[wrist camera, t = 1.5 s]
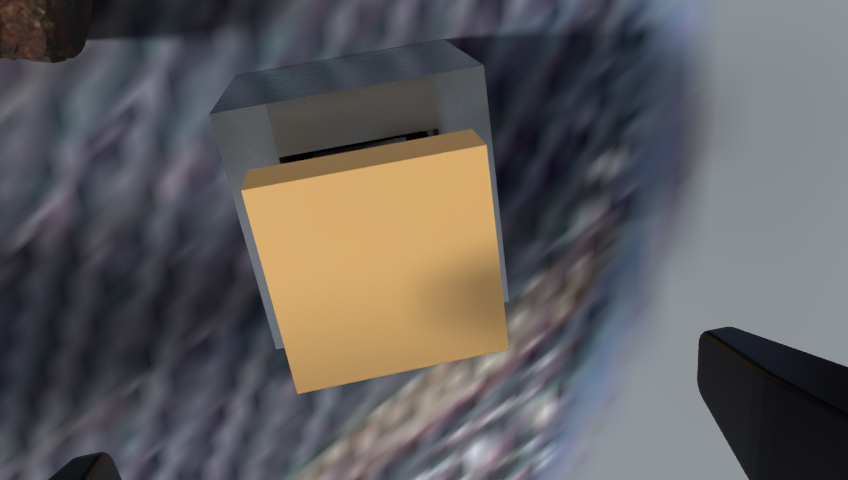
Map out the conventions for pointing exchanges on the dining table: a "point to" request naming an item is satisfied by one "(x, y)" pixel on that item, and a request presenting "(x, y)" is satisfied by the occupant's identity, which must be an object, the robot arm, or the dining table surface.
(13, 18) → the brown wedge block
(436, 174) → the button
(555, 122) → the dining table surface
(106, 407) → the dining table surface
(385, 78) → the box
